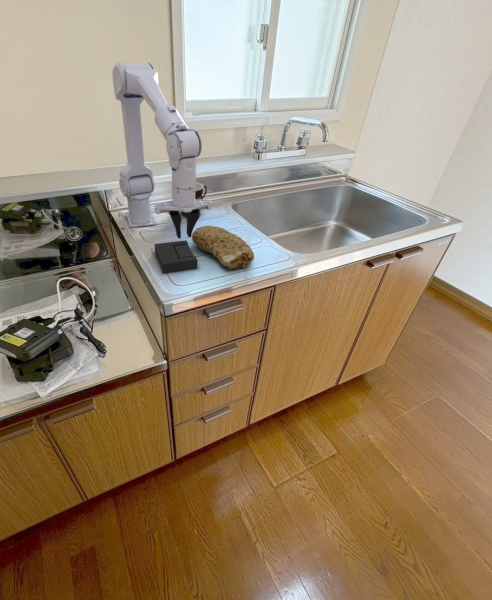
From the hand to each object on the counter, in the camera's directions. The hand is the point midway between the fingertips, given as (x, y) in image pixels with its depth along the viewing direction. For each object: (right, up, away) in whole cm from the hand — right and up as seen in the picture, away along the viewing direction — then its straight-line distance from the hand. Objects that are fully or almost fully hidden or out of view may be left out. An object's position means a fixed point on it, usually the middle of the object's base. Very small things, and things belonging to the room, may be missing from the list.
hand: (183, 236), depth 86 cm
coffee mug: (+2, +14, +29) cm, 33 cm away
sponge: (+10, -4, +8) cm, 13 cm away
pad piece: (0, -6, +5) cm, 7 cm away
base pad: (-3, -6, +4) cm, 8 cm away
